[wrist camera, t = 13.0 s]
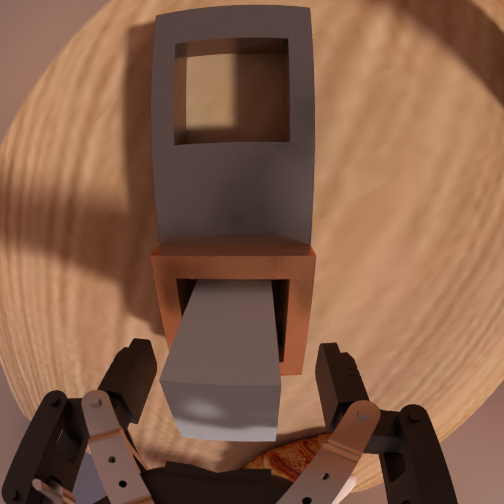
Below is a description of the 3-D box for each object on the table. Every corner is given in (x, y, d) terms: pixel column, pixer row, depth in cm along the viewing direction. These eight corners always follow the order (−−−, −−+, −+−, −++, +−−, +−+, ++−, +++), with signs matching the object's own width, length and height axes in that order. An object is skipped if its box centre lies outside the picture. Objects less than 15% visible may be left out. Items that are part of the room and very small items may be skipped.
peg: (268, 313, 19) (275, 441, 9) (210, 313, 19) (182, 436, 10) (268, 260, 17) (281, 384, 8) (205, 260, 17) (159, 379, 8)
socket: (293, 345, 20) (299, 384, 16) (188, 344, 20) (177, 381, 16) (302, 25, 12) (315, -5, 8) (169, 30, 12) (146, 4, 8)
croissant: (248, 459, 34) (264, 500, 28) (201, 467, 27) (217, 516, 22) (371, 407, 28) (394, 456, 22) (345, 414, 21) (375, 480, 16)
